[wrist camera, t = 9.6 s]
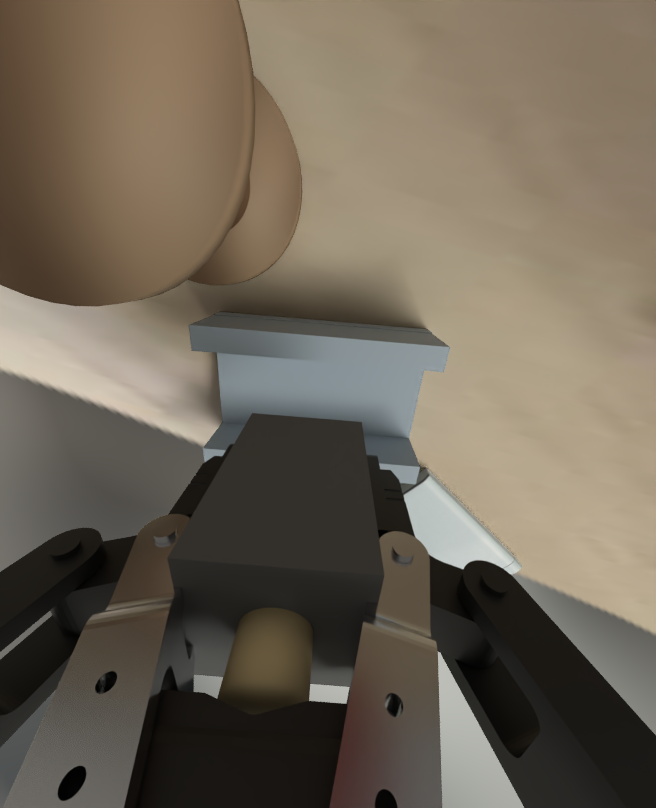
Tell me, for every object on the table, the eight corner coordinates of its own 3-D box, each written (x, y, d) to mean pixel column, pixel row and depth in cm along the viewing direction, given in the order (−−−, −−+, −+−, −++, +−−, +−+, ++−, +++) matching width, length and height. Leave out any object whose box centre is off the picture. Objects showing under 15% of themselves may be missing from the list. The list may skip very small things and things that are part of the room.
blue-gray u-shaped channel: (427, 329, 17) (450, 346, 14) (402, 446, 21) (415, 485, 17) (220, 311, 17) (188, 323, 14) (228, 431, 21) (205, 466, 17)
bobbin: (306, 69, 13) (227, -380, 4) (298, 290, 17) (249, 320, 8) (98, 51, 13) (-453, -434, 4) (137, 277, 17) (-100, 290, 8)
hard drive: (342, 534, 23) (438, 612, 26) (430, 476, 21) (525, 571, 24) (342, 518, 25) (433, 594, 28) (424, 462, 22) (514, 553, 25)
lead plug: (361, 422, 11) (395, 651, 4) (350, 505, 13) (362, 762, 6) (252, 413, 11) (125, 629, 4) (254, 498, 13) (166, 747, 6)
